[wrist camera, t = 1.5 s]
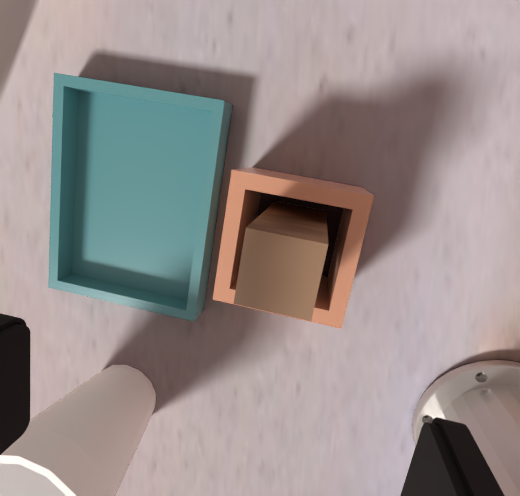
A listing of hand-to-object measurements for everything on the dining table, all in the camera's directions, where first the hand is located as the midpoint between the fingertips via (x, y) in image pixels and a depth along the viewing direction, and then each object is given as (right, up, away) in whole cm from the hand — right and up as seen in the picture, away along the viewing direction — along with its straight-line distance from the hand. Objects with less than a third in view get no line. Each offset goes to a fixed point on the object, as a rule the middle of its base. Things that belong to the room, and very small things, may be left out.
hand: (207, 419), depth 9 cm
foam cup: (-12, -10, +28) cm, 32 cm away
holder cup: (+4, +5, +21) cm, 22 cm away
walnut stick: (+4, +5, +21) cm, 22 cm away
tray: (-9, +8, +23) cm, 25 cm away
